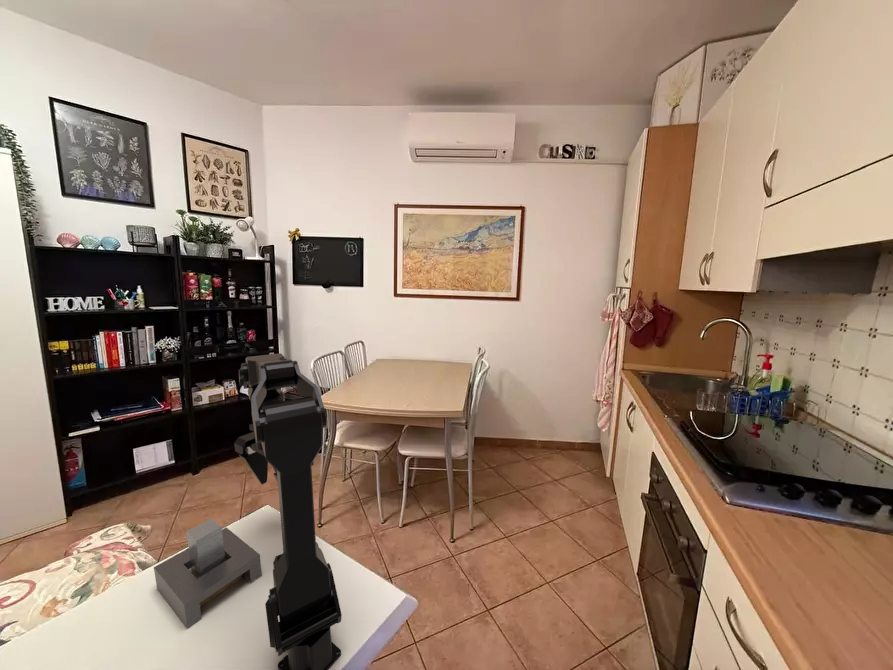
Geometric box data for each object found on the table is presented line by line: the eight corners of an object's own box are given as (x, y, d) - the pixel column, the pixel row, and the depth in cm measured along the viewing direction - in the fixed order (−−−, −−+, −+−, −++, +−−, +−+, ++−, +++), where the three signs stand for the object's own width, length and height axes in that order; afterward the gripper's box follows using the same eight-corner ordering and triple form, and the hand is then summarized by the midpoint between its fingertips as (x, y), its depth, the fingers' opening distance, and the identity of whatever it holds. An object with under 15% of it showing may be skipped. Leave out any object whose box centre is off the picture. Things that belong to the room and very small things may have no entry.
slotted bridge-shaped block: (261, 575, 65) (259, 554, 64) (187, 628, 55) (183, 604, 54) (228, 546, 72) (226, 527, 71) (157, 589, 62) (153, 567, 61)
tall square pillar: (227, 579, 64) (221, 526, 62) (203, 596, 61) (196, 540, 59) (217, 569, 66) (210, 518, 64) (193, 584, 63) (185, 531, 61)
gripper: (334, 414, 69) (338, 485, 71) (281, 397, 79) (286, 460, 81) (282, 435, 59) (288, 516, 62) (229, 412, 70) (237, 483, 72)
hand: (276, 490), depth 70 cm, fingers open, 9 cm apart
